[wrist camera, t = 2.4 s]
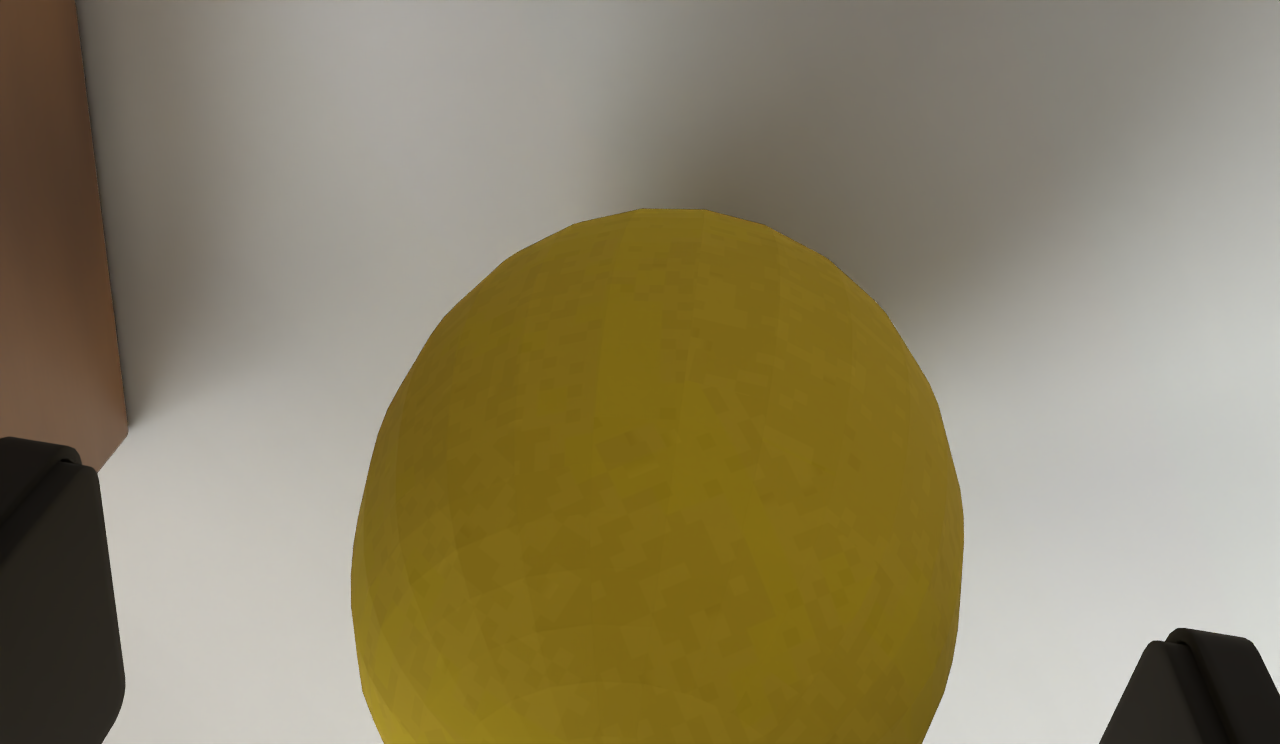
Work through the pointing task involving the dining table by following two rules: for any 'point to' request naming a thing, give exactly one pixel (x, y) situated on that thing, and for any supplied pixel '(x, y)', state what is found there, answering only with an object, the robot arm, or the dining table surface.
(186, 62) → the dining table surface
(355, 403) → the dining table surface
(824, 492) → the lemon
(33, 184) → the stand
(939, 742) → the dining table surface
